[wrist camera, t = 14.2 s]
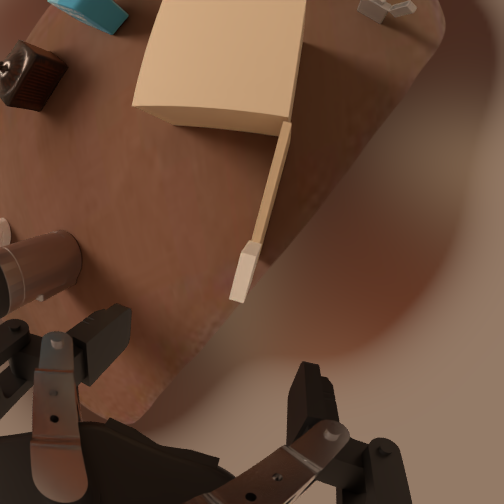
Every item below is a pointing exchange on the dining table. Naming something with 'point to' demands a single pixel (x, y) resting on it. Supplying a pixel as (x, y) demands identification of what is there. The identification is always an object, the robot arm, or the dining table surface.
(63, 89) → the dining table surface
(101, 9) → the data package
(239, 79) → the carton
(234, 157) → the dining table surface
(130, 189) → the dining table surface
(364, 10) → the lighter
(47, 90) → the pepper mill
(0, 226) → the white cup
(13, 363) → the robot arm
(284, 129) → the beige wooden slab
